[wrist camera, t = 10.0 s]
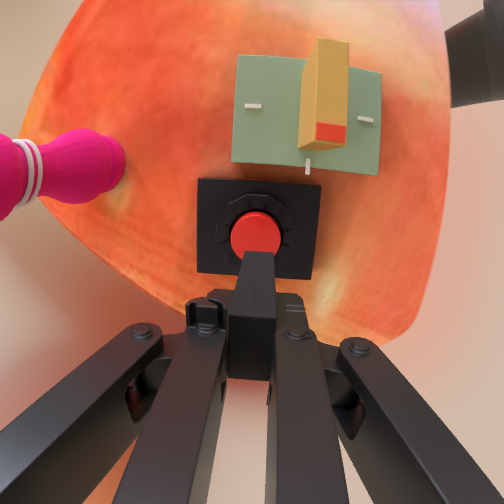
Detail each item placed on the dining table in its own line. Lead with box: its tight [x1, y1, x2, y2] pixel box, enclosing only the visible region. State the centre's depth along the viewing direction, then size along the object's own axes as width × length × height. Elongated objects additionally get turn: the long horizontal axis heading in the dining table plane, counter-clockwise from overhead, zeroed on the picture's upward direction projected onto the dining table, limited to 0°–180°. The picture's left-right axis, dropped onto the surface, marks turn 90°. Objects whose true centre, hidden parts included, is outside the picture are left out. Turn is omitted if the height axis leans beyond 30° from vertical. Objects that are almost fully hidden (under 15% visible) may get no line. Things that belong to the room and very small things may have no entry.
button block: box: [197, 177, 321, 280], centre depth 26 cm, size 11×9×4 cm
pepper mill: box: [0, 129, 125, 221], centre depth 17 cm, size 7×7×20 cm
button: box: [231, 212, 281, 259], centre depth 24 cm, size 4×4×2 cm
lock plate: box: [231, 55, 382, 176], centre depth 23 cm, size 13×11×3 cm
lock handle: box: [297, 37, 349, 151], centre depth 18 cm, size 7×2×8 cm, turn 176°
